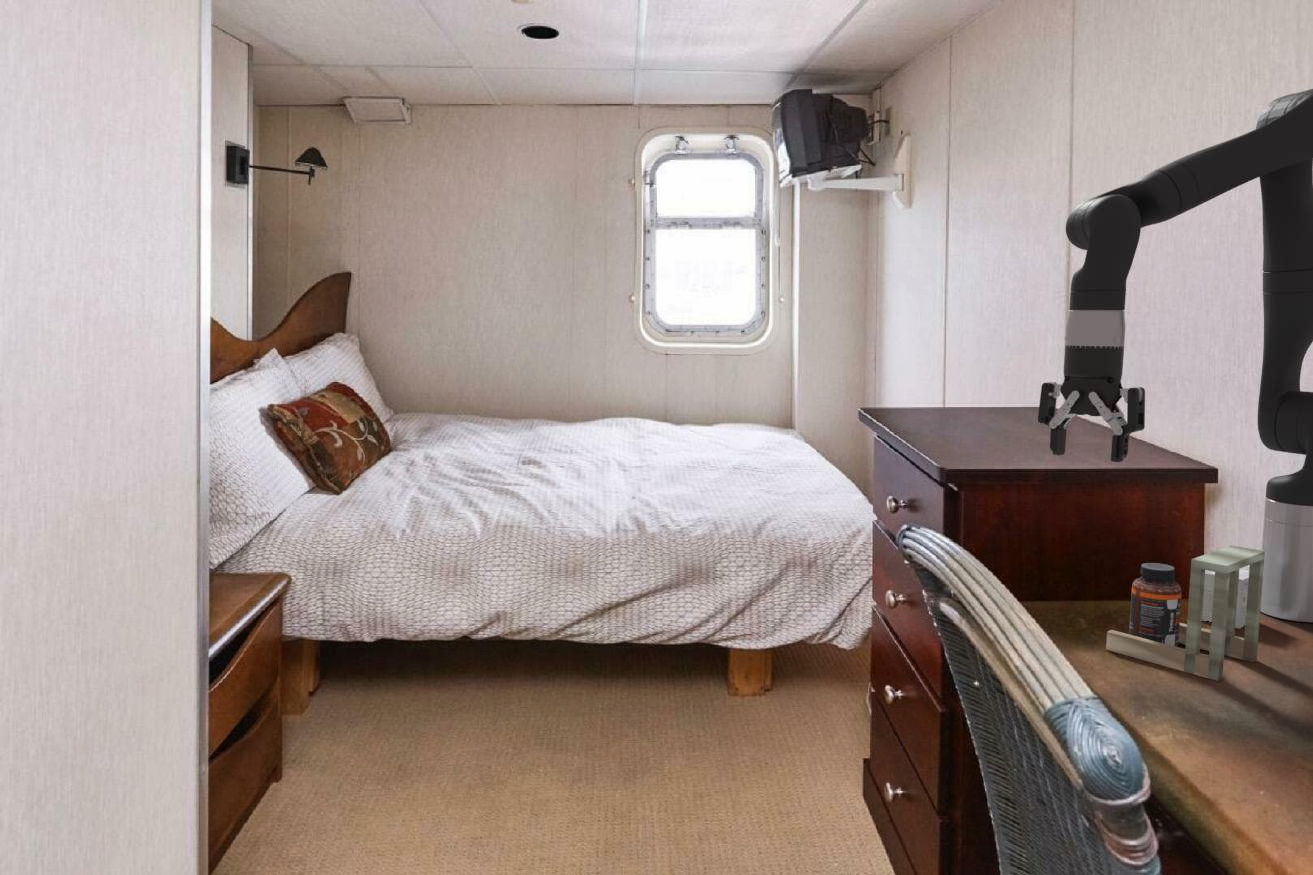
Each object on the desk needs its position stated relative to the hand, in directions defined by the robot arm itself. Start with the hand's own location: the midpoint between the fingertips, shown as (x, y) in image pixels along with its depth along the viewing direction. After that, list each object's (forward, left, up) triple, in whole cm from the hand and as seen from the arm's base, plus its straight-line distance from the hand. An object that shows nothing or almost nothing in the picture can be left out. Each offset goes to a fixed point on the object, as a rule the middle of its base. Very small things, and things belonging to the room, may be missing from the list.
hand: (1086, 458), depth 134 cm
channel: (+1, +15, -25) cm, 29 cm away
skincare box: (-19, +12, -25) cm, 33 cm away
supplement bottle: (+1, +11, -25) cm, 27 cm away
